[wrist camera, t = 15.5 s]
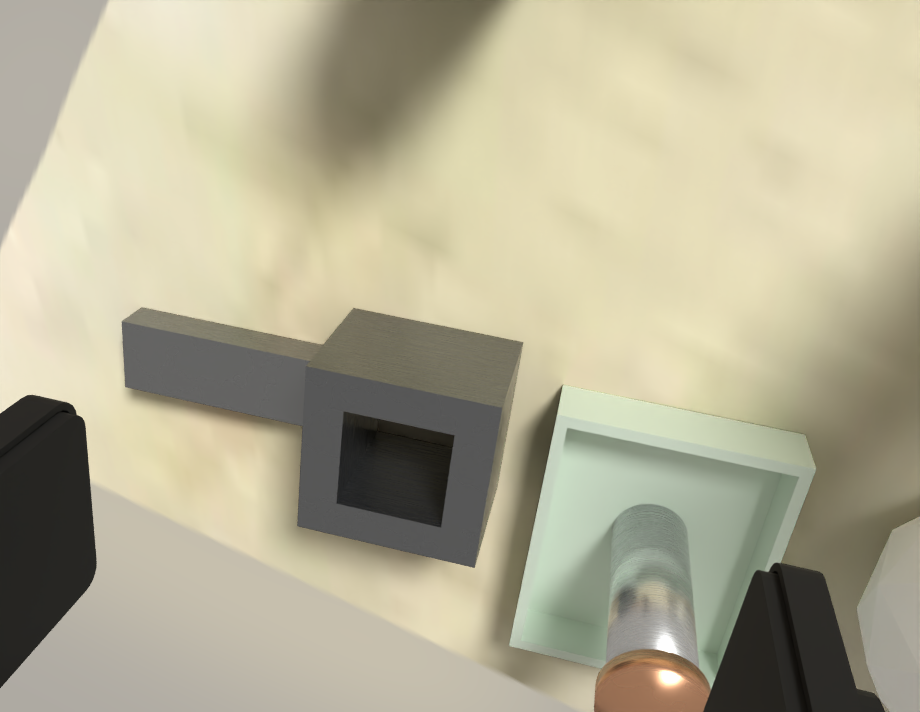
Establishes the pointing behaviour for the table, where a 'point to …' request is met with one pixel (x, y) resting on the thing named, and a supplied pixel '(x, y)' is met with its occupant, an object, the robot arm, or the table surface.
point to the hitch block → (356, 416)
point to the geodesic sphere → (894, 620)
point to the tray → (661, 483)
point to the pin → (650, 618)
